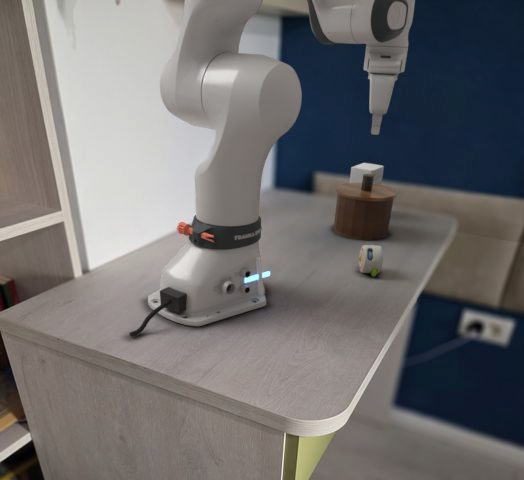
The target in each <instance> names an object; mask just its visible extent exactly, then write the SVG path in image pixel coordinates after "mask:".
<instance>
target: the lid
mask: <svg viewBox="0 0 524 480" xmlns="http://www.w3.org/2000/svg"><path fill="white" fill-rule="evenodd" d="M373 179H374V175H371V174H364V175H363V180H362V183H350V182H347V183H341V184H339V185H337V186H336V193H337V195H338V194H339V195H341V196H344V197H347V198H350V199H355V200H362V201H387V200H391V199H395V198H396V197H397V191H396V190H395V189H393V188H392V187H389V186H387V185H383V184H381V185H377V184H373Z"/></svg>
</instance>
